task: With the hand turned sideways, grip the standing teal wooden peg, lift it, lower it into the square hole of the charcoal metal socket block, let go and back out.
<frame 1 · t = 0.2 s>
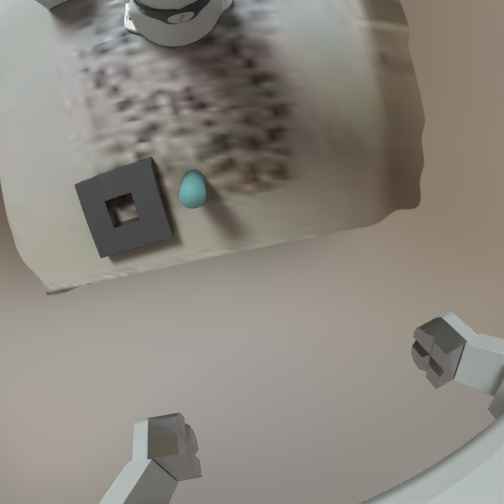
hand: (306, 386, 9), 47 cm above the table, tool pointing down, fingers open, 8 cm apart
socket block: (125, 206, 51), on the table
peg: (193, 180, 52), on the table
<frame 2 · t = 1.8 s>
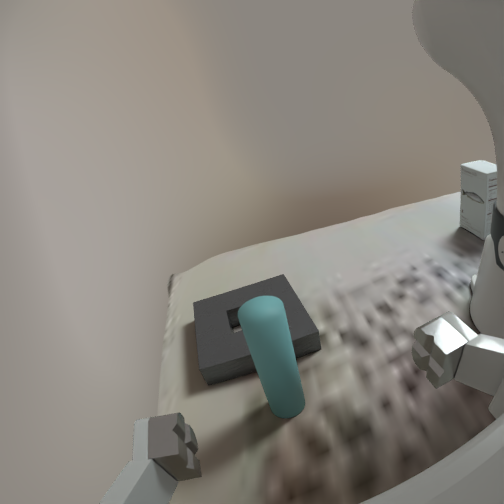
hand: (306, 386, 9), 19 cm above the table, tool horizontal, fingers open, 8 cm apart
socket block: (252, 332, 41), on the table
supplement box: (482, 230, 47), on the table
peg: (287, 404, 29), on the table
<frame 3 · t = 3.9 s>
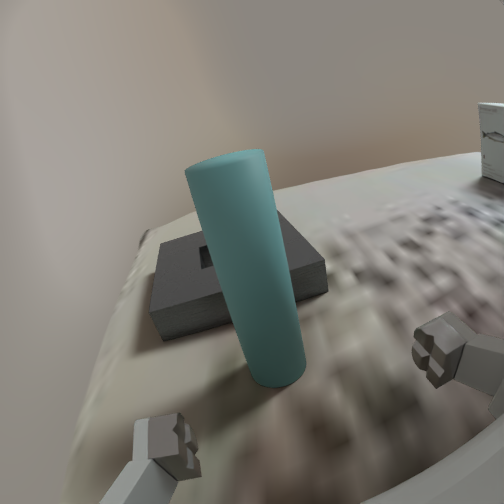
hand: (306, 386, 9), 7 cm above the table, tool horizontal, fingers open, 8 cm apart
socket block: (233, 276, 31), on the table
peg: (278, 366, 19), on the table
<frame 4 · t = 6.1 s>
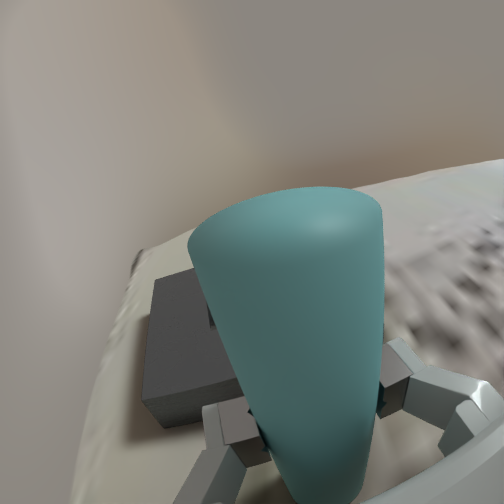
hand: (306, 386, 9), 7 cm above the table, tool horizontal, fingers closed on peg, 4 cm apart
socket block: (251, 330, 23), on the table
peg: (326, 479, 11), on the table, touching gripper
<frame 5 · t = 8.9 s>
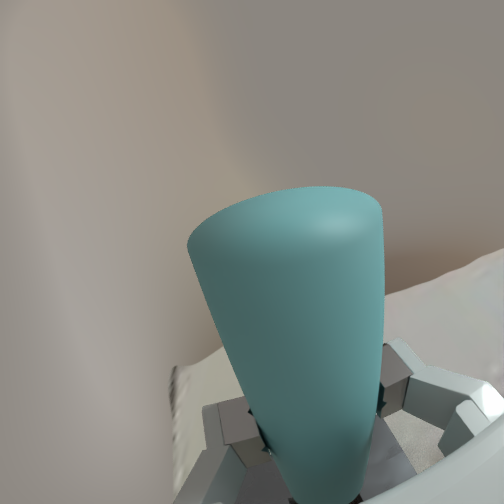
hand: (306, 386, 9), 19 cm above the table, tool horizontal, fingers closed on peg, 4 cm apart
peg: (326, 479, 11), point 12 cm above the table, touching gripper
when the fingers open (9 cm above the table, at t = 11.6 s): peg drops 2 cm, resting in socket block.
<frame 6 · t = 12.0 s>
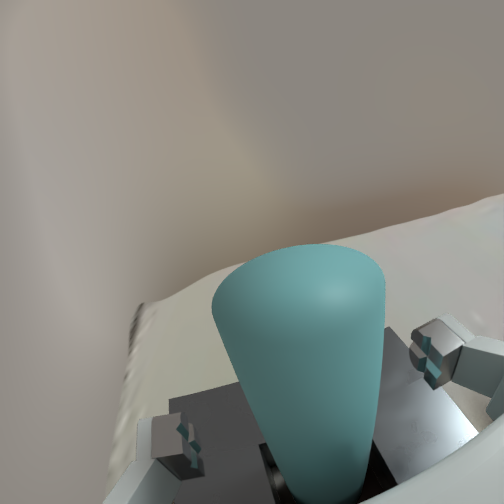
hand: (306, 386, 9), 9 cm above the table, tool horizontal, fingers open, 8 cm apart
socket block: (327, 488, 12), on the table
peg: (327, 488, 12), resting in socket block
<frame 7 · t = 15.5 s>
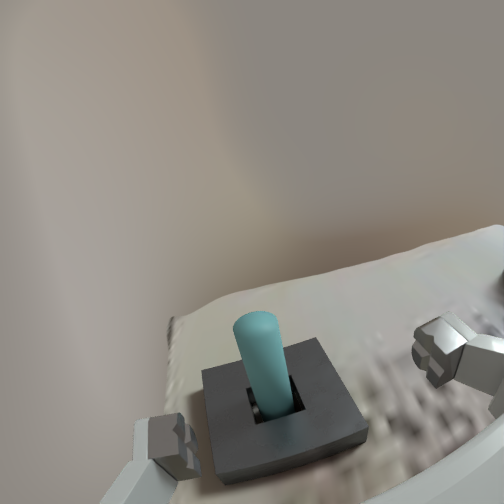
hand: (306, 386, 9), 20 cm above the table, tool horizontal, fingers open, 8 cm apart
socket block: (278, 414, 30), on the table
peg: (278, 414, 30), resting in socket block
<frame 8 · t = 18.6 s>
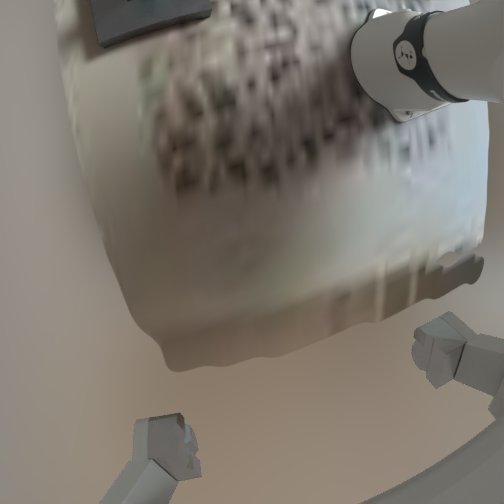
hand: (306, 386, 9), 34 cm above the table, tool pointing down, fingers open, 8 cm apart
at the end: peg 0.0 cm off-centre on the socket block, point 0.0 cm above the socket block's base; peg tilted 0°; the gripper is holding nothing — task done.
